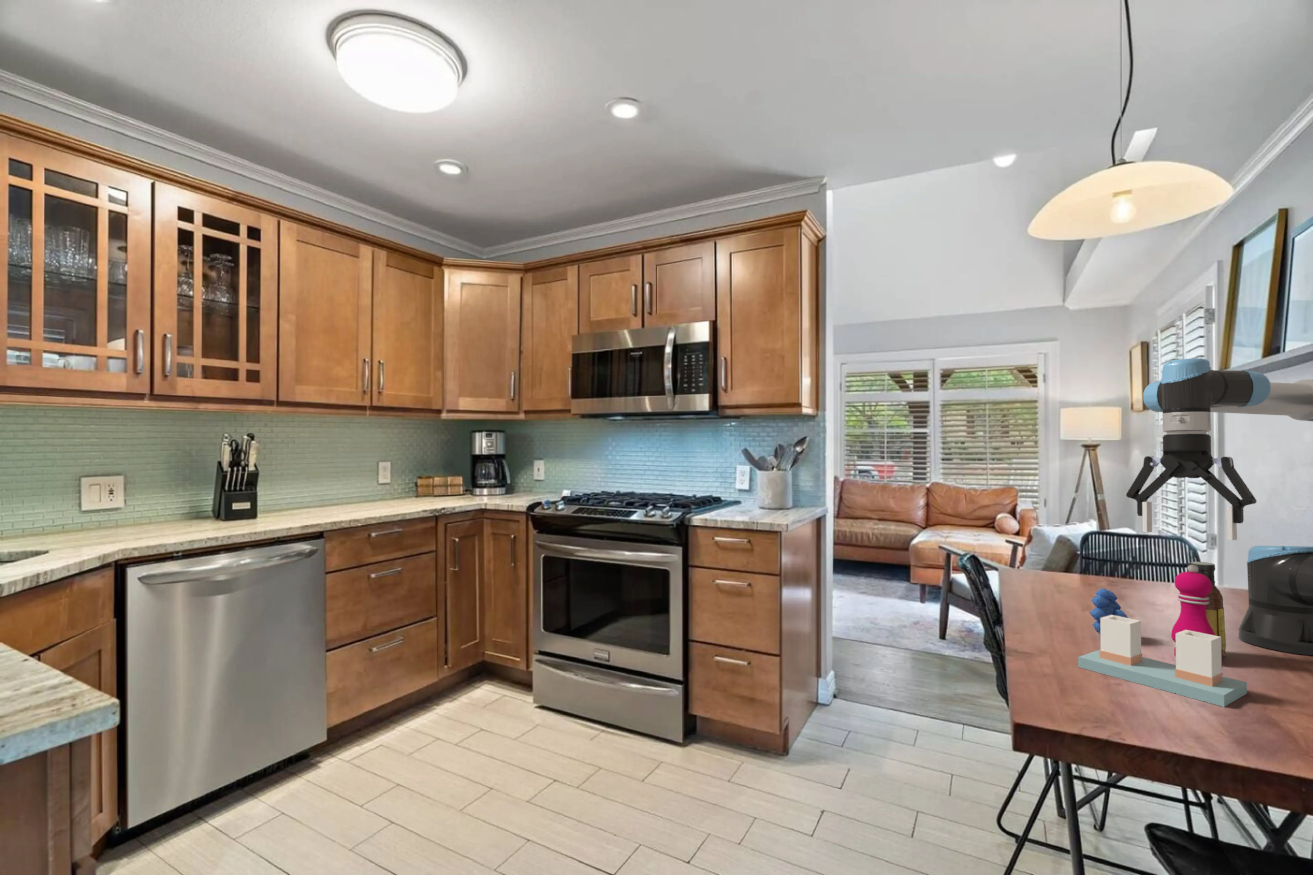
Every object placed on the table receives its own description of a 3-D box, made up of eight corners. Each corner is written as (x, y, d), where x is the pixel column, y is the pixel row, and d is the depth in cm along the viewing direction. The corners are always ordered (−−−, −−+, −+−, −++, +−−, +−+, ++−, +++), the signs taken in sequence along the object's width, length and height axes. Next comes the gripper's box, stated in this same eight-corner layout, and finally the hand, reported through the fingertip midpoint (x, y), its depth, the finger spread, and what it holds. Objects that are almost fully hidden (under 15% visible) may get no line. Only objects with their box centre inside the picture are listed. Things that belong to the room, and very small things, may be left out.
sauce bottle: (1210, 650, 132) (1208, 560, 133) (1234, 659, 126) (1233, 565, 127) (1178, 648, 133) (1177, 559, 134) (1201, 657, 127) (1200, 564, 127)
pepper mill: (1177, 661, 124) (1176, 565, 125) (1167, 651, 131) (1166, 560, 131) (1222, 667, 121) (1221, 569, 122) (1210, 657, 127) (1209, 563, 128)
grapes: (1118, 648, 133) (1117, 594, 133) (1083, 639, 138) (1083, 588, 139) (1138, 639, 139) (1137, 588, 139) (1104, 632, 145) (1103, 583, 145)
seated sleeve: (1185, 672, 112) (1185, 629, 112) (1222, 681, 108) (1221, 636, 108) (1175, 676, 109) (1174, 633, 110) (1212, 686, 105) (1211, 640, 105)
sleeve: (1111, 653, 122) (1111, 614, 123) (1142, 661, 118) (1141, 620, 118) (1099, 657, 119) (1099, 617, 120) (1130, 665, 115) (1130, 624, 115)
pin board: (1105, 657, 126) (1104, 628, 126) (1247, 693, 107) (1246, 659, 107) (1078, 666, 120) (1078, 636, 120) (1224, 706, 101) (1223, 671, 101)
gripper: (1108, 434, 132) (1108, 529, 131) (1264, 431, 111) (1266, 544, 110) (1122, 435, 136) (1123, 528, 135) (1276, 432, 115) (1278, 542, 114)
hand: (1187, 535), depth 123 cm, fingers open, 13 cm apart
